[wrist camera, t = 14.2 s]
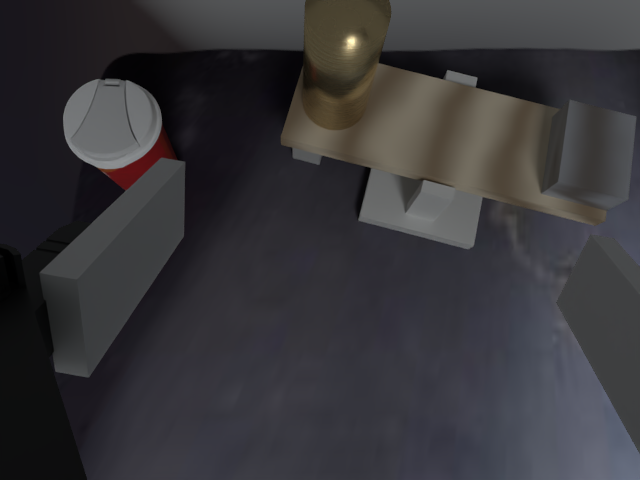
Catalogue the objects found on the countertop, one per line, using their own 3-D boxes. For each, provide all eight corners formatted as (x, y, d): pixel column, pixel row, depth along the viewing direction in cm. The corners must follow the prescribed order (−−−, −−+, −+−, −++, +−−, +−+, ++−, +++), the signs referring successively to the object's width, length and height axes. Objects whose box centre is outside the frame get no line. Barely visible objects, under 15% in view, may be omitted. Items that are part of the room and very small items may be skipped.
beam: (598, 136, 49) (637, 106, 43) (587, 229, 46) (627, 210, 41) (308, 62, 49) (309, 24, 44) (281, 150, 47) (279, 121, 41)
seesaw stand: (493, 116, 55) (524, 76, 48) (468, 249, 51) (499, 228, 43) (318, 72, 56) (321, 24, 48) (280, 199, 52) (277, 170, 44)
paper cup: (124, 146, 52) (64, 69, 39) (196, 149, 53) (161, 73, 39) (115, 216, 50) (48, 160, 37) (190, 218, 51) (151, 163, 37)
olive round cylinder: (379, 109, 45) (408, 20, 34) (326, 141, 44) (338, 61, 33) (342, 62, 46) (357, -40, 35) (289, 92, 45) (287, -3, 34)
